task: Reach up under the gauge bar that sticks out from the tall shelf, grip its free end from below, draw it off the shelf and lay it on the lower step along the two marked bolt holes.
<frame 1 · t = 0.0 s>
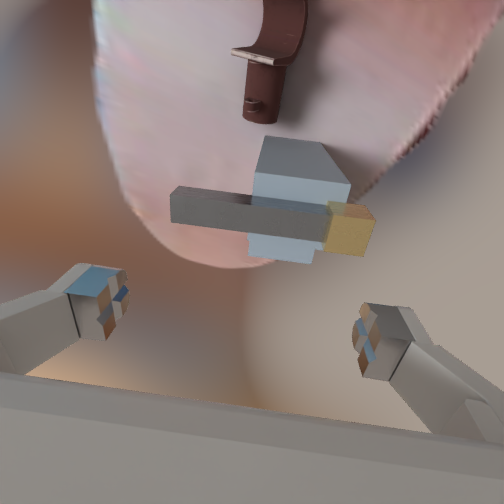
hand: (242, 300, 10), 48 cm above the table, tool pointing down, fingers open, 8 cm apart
gauge bar: (268, 210, 32), point 26 cm above the table, touching stepped stand
stepped stand: (285, 182, 56), on the table
bracket: (269, 55, 46), on the table
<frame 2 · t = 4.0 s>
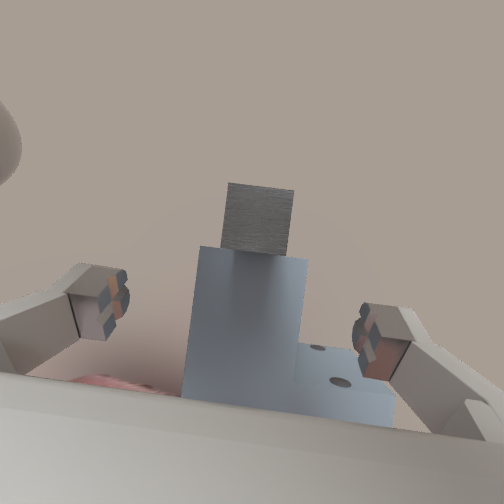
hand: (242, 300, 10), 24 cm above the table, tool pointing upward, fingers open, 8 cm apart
gauge bar: (254, 252, 23), point 26 cm above the table, touching stepped stand
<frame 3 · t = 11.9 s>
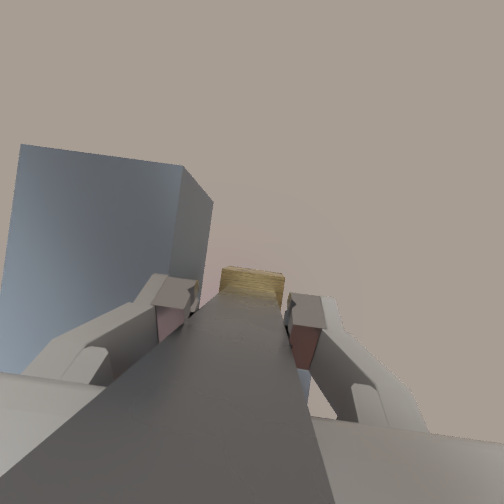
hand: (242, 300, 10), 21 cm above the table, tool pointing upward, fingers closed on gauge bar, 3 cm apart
gauge bar: (235, 376, 12), point 17 cm above the table, touching gripper, stepped stand
when the fingers open (20 cm above the table, at t = 12.5 s): gauge bar stays where it is, resting on stepped stand.
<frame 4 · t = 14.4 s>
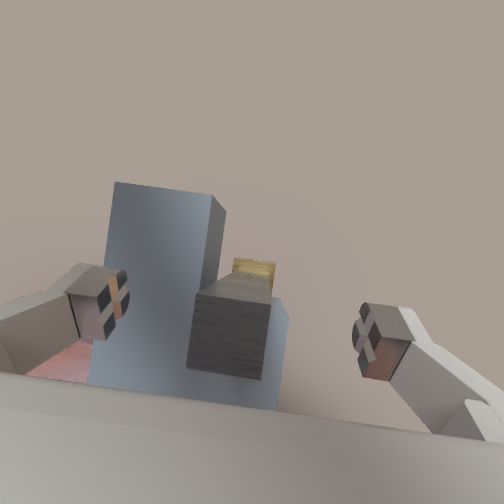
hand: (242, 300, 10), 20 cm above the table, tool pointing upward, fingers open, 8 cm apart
gauge bar: (243, 317, 21), point 17 cm above the table, touching stepped stand
stepped stand: (184, 466, 28), on the table
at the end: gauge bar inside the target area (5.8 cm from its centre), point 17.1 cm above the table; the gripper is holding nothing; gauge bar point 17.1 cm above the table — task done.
